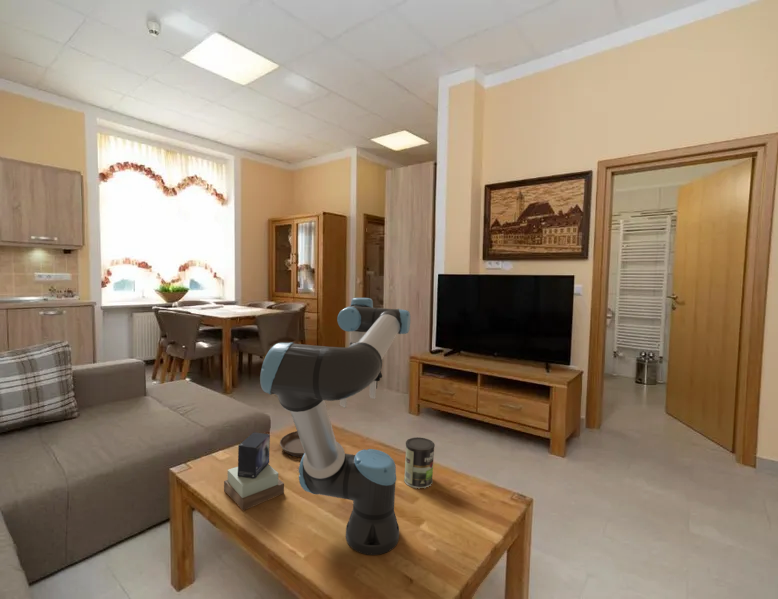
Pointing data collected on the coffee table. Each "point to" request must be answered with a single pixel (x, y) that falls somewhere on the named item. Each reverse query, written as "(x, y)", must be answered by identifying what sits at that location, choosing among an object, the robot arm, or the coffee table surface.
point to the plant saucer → (292, 444)
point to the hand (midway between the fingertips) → (358, 402)
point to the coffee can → (419, 462)
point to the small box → (253, 455)
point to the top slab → (252, 481)
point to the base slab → (254, 495)
